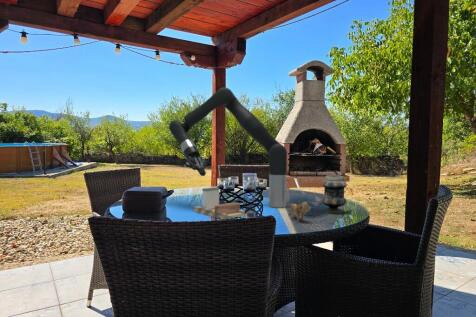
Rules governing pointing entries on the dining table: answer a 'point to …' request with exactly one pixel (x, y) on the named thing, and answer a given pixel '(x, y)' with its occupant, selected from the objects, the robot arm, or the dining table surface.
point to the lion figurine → (299, 210)
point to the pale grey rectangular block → (210, 197)
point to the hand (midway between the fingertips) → (203, 174)
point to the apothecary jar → (334, 193)
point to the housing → (222, 211)
